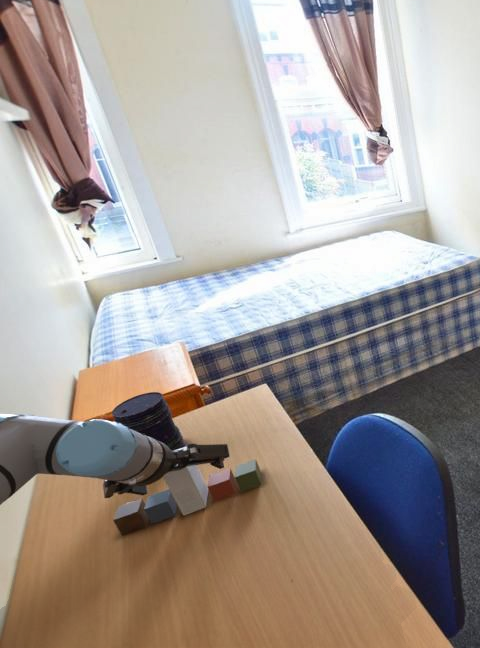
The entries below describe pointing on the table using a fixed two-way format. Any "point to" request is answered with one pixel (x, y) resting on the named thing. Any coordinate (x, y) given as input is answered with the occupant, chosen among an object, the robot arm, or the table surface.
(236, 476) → the block
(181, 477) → the cosmetic box
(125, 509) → the block
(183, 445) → the storage jar
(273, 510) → the table surface
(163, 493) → the block
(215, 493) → the block
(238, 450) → the table surface
